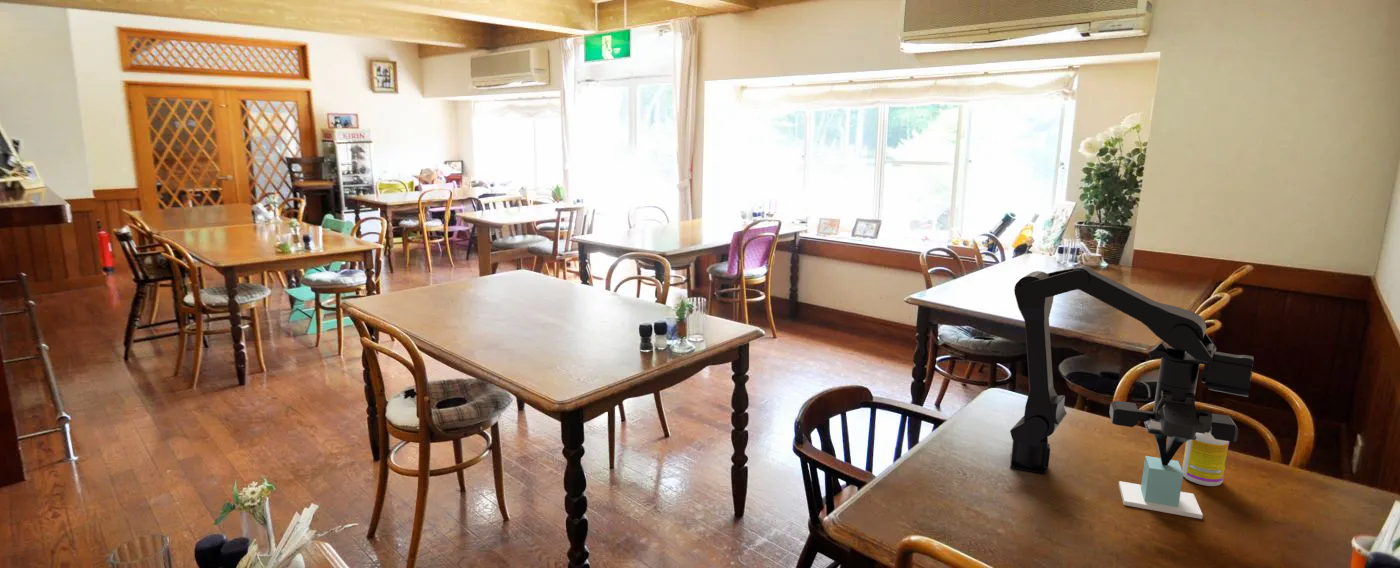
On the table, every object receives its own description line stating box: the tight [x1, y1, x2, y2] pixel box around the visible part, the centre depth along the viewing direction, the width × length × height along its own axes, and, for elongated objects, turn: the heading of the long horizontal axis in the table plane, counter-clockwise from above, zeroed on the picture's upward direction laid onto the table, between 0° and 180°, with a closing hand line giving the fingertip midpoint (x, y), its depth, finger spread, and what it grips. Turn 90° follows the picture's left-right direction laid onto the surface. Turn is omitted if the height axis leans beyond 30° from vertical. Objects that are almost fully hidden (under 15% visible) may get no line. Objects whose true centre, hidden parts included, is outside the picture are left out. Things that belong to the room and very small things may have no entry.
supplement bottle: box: [1181, 431, 1230, 487], centre depth 139 cm, size 7×7×13 cm
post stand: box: [1118, 480, 1204, 520], centre depth 131 cm, size 12×8×6 cm, turn 66°
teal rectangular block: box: [1140, 455, 1184, 507], centre depth 131 cm, size 5×5×7 cm
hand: (1164, 464), depth 130 cm, fingers closed
